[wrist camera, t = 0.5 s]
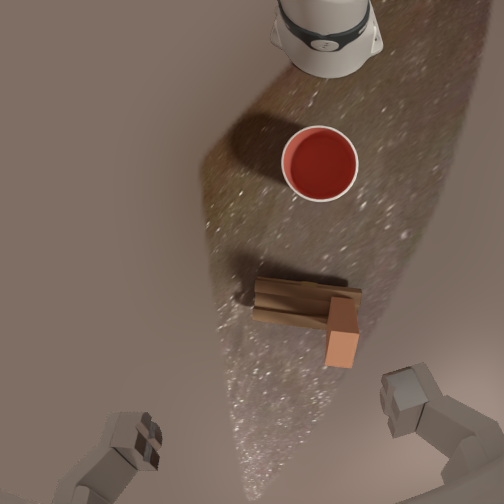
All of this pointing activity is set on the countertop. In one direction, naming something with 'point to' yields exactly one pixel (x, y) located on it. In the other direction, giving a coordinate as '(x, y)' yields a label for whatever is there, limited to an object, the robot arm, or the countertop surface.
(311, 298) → the beam
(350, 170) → the cup
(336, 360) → the plate
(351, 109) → the countertop surface
